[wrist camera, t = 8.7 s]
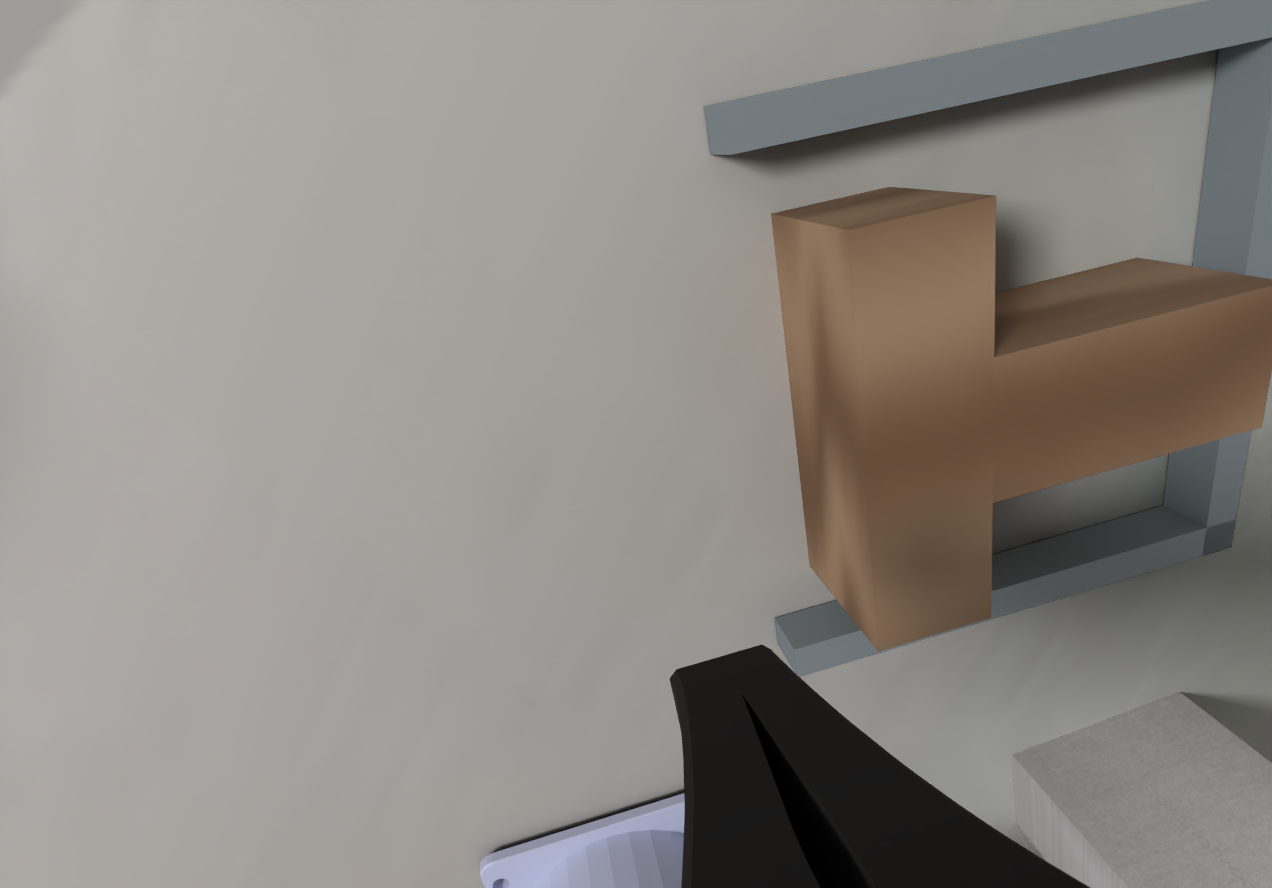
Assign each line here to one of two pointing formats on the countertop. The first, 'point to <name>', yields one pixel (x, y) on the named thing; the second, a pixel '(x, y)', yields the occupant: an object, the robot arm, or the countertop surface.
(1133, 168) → the countertop surface
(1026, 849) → the robot arm
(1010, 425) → the t block
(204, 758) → the countertop surface
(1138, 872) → the white gabled block
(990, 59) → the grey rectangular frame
